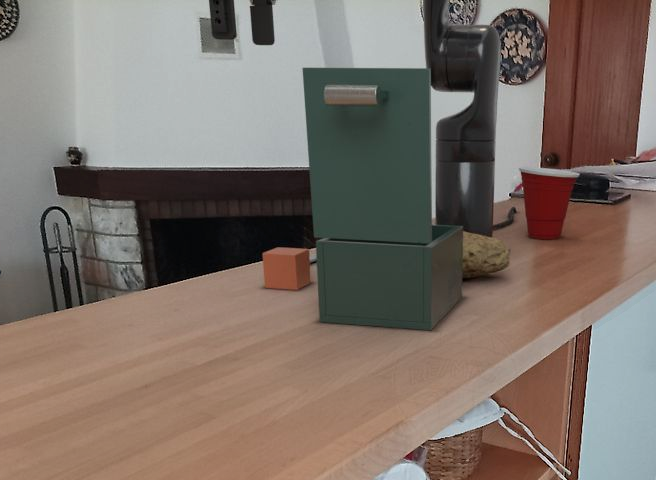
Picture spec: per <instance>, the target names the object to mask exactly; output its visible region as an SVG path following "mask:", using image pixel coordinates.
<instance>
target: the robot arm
mask: <svg viewBox="0 0 656 480" xmlns="http://www.w3.org/2000/svg"><path fill="white" fill-rule="evenodd" d="M450 2H451V0H422V15H423V16H422V17H423V43H424V44H423V45H424V46H423V47H424V60H425V68H430V69H431V89H433V90H434V91H436V92H439V93H472V94H473V97H472V100H471V102H470V104H469V105H468V106H466V107H465V108H463V109H462V110H460V111H458V112H457V113H454V114H451V115H448V116H446V117H442V118H440V119H439V120H438V121H437V122H436V124H435V192H434V193H435V196H434V197H435V198H434V199H435V200H434V201H435V204H434V205H435V207H434V208H435V210H434V211H435V212H434V213H435V214H434V215H435V217H434V218H435V221H434V222H435V223H434V225H454V226H463V231H465V232H468V233H473V234H479V235H483V236H487V237H491V238H494V237H493V233H494V232H493V231H494V229H499V228H501V227H505V226H507V225H509V224H511V223H512V222H513V221H514V215H513V213H514V214H517V213H518V211H517V208H516V206H512V207H511V208H510V210H509V211H508V213H507V214H508V219H507V220H505V221H502V222H499V223H496V224H494V209H495V208H494V207H495V206H494V205H495V177H496V174H495V173H496V140H497V120H498V119H497V118H498V98H499V97H498V96H499V85H500V73H501V61H502V60H501V58H502V46H501V45H502V44H501V37H500V34H499V31H498V30H497V28H496V27H495V26H494V25H491V24H451V23H450V17H449V16H450V15H449V13H450ZM249 3H250V5H249V15H250V28H251V39H252V43H253V44H254V45H255V46H273V45H275V42H276V41H275V24H274V12H273V10H274V9H273V6H275V5H276V3H277V0H249ZM208 4H209V16H210V17H209V19H210V27H211V28H210V29H211V36H212V37H213V39H215V40H218V41H219V40H220V41H225V40H227V41H230V40H231V41H234V40H235V39H236V38H237V35H238V33H237V19H236V8H235V0H208Z"/></svg>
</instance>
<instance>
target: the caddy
mask: <svg viewBox="0 0 656 480" xmlns="http://www.w3.org/2000/svg"><path fill="white" fill-rule="evenodd" d="M315 253H316V257H317V260H316V274H317V275H316V277H317V296H318V315H319V322H320V323H329V324H340V325H341V324H342V325H343V324H344V325H355V326H368V327H380V328H381V327H382V328H392V329H393V328H395V329H406V330H420V331H421V330H422V331H432V330H433V329H434V328H435V327H436V326H437V325H438V324H439V322H440V321H441V320H442V319H443V318H444V317H445V316H446V315H447V314H448V313H449V312H450V311H451V310H452V308H454V306H456V304H457V303H458V302H459V301H461V299H462V298H463V278H462V267H463V226H454V225H435V223H434V224H433V223H432V242H431V243H430V244H426V243H407V242H388V241H370V240H351V239H332V238H319V239H318V240H316V241H315Z"/></svg>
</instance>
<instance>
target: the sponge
mask: <svg viewBox="0 0 656 480" xmlns="http://www.w3.org/2000/svg"><path fill="white" fill-rule="evenodd" d="M510 252H511V248H510V247H508V246H507V245H506V244H504V242H503V241H502V240H501V239H497V238H495V237H493V238H491V237H487V236H483V235H479V234H473V233H468V232H465V231H463V267H462V279H470V278H477V277H482V276H486V275H489V274H494V273H498V272H500V271H503V270H505V269H507V268H508V267H509V266H510V265H511V262H510V254H511V253H510Z"/></svg>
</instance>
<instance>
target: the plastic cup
mask: <svg viewBox="0 0 656 480" xmlns="http://www.w3.org/2000/svg"><path fill="white" fill-rule="evenodd" d="M518 171H519V172H520V175H521V182H522V183H521V184H522V186H521V187H522V188H523V189H522V191H523V203H524V212H525V213H524V214H525V219H526V226H527V233H528V237H529V238H532V239H539V240H557V239H560V238H561V235H562V232H563V227H564V223H565V219H566V216H567V212H568V208H569V204H570V201H571V197H572V191H573V190H574V186H575V184H576V181H577V179H578V178H579V177H580V174H581V173H579V172H575V171H569V170H562V169H555V168H547V167H546V168H545V167H537V166H536V167H535V166H533V167H532V166H520V167H518Z"/></svg>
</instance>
